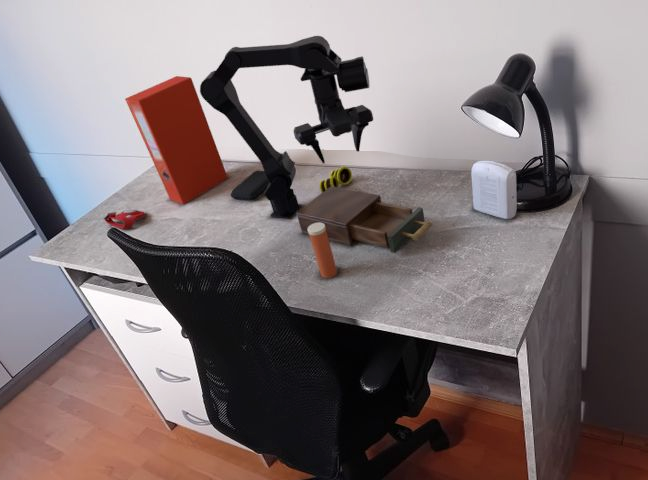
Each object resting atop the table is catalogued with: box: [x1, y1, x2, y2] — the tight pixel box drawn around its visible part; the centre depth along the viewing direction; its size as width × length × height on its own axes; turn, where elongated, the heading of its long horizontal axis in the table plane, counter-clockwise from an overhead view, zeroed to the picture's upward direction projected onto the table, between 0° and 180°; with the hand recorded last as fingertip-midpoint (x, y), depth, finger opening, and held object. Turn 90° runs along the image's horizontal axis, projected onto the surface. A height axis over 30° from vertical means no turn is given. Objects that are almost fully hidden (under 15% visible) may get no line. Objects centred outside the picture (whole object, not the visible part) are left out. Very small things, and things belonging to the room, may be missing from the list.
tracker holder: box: [102, 209, 146, 230], centre depth 159 cm, size 12×4×10 cm
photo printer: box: [470, 160, 518, 220], centre depth 121 cm, size 10×4×12 cm, turn 42°
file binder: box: [124, 75, 228, 205], centre depth 160 cm, size 8×17×32 cm, turn 138°
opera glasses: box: [318, 166, 353, 194], centre depth 150 cm, size 10×5×5 cm, turn 149°
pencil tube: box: [307, 222, 338, 279], centre depth 115 cm, size 4×4×12 cm
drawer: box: [348, 201, 433, 254], centre depth 123 cm, size 19×12×4 cm, turn 51°
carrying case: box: [230, 170, 269, 202], centre depth 159 cm, size 11×3×15 cm
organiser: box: [295, 186, 383, 247], centre depth 132 cm, size 16×14×6 cm
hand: (340, 157), depth 135 cm, fingers open, 9 cm apart
